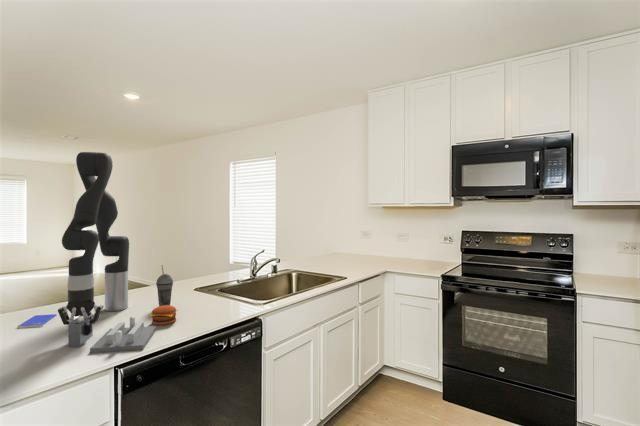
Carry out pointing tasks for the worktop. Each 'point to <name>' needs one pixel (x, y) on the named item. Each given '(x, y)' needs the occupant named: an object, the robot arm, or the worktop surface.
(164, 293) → the beverage cup
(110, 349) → the dock
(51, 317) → the hard drive
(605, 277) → the worktop surface
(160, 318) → the hamburger
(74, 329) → the block
